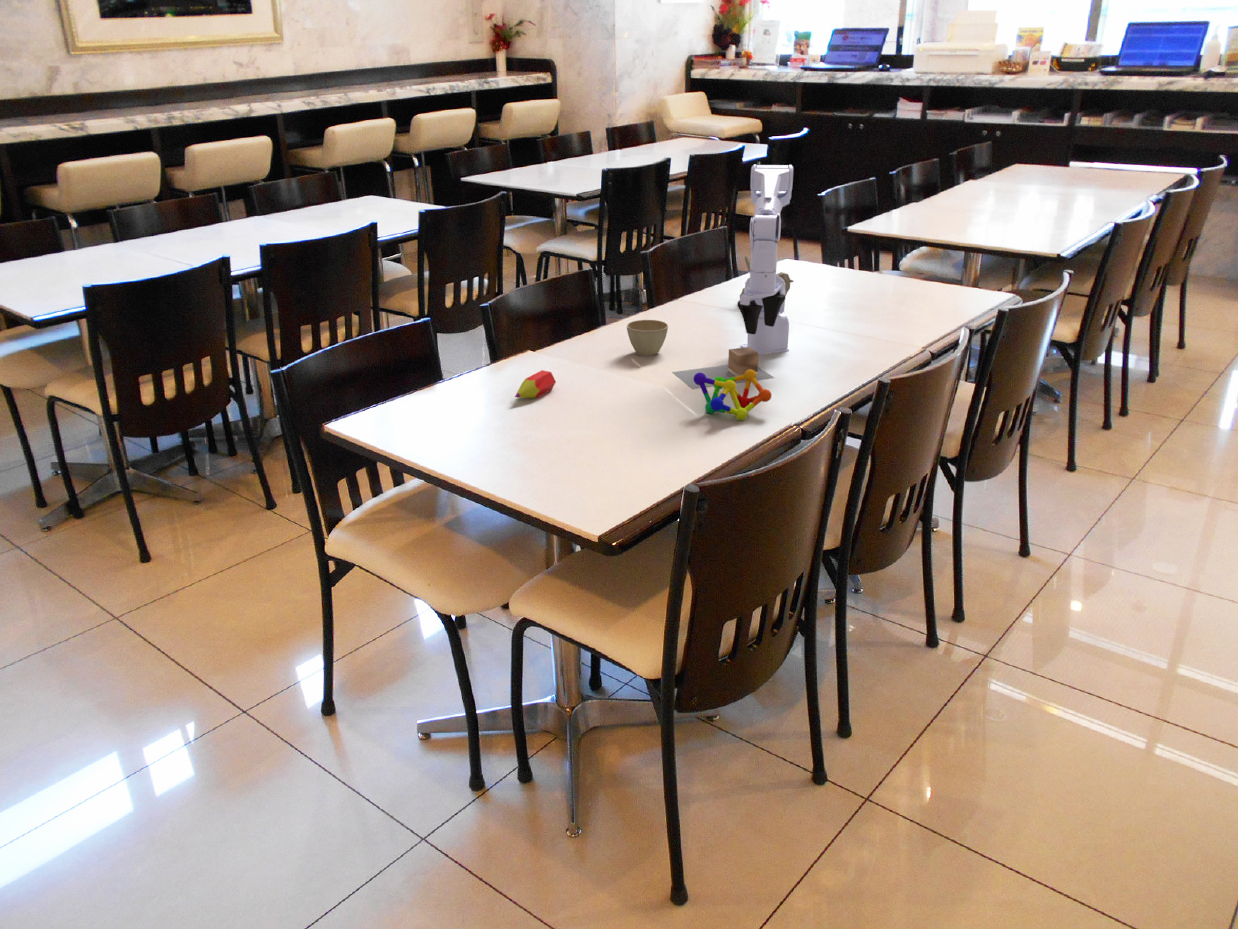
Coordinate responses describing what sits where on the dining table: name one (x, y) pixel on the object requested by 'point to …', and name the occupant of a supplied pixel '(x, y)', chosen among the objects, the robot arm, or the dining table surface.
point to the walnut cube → (742, 360)
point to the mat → (714, 375)
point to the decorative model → (732, 394)
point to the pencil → (536, 385)
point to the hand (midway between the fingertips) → (760, 329)
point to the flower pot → (647, 336)
